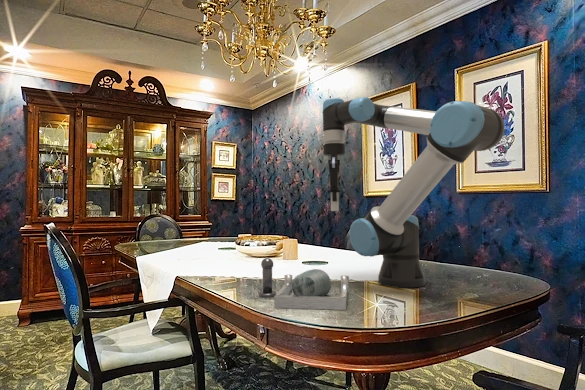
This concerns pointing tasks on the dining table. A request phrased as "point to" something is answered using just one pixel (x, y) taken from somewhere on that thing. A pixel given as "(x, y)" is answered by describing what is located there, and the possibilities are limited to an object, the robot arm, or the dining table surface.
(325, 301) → the keeper cradle
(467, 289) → the dining table surface
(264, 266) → the post
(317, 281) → the grey rounded piece
